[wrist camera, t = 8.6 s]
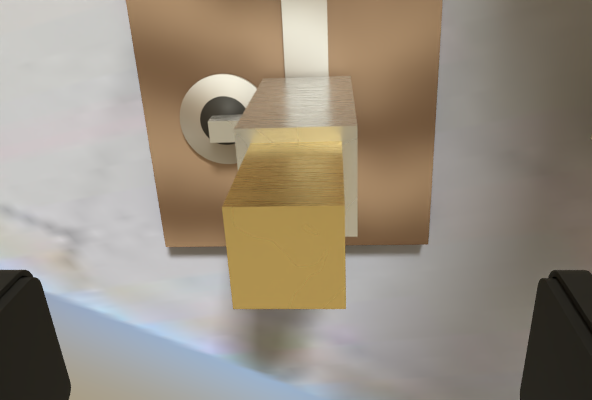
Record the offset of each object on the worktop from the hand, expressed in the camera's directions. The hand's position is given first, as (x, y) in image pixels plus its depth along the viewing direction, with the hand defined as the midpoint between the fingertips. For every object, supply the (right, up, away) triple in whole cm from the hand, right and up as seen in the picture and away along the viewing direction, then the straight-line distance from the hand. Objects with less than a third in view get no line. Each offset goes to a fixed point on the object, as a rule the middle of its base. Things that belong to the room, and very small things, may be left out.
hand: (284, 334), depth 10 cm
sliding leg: (0, +6, +16) cm, 17 cm away
